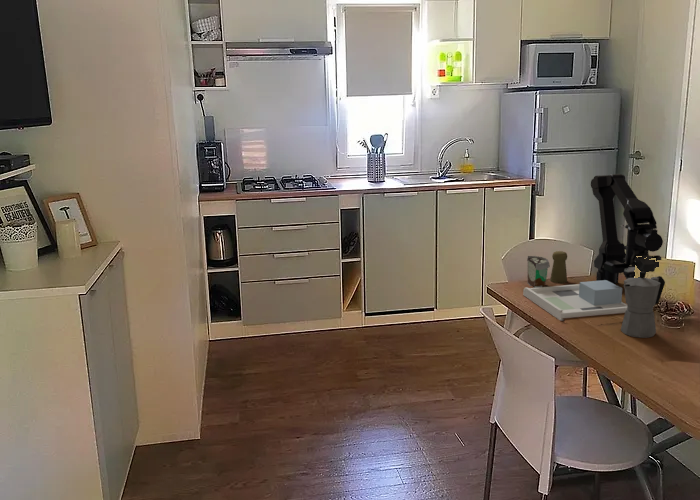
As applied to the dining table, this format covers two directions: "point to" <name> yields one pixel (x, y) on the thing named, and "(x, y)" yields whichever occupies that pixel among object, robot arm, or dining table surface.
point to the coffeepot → (641, 305)
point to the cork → (559, 267)
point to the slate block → (600, 292)
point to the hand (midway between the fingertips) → (632, 290)
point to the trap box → (568, 302)
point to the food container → (537, 271)
